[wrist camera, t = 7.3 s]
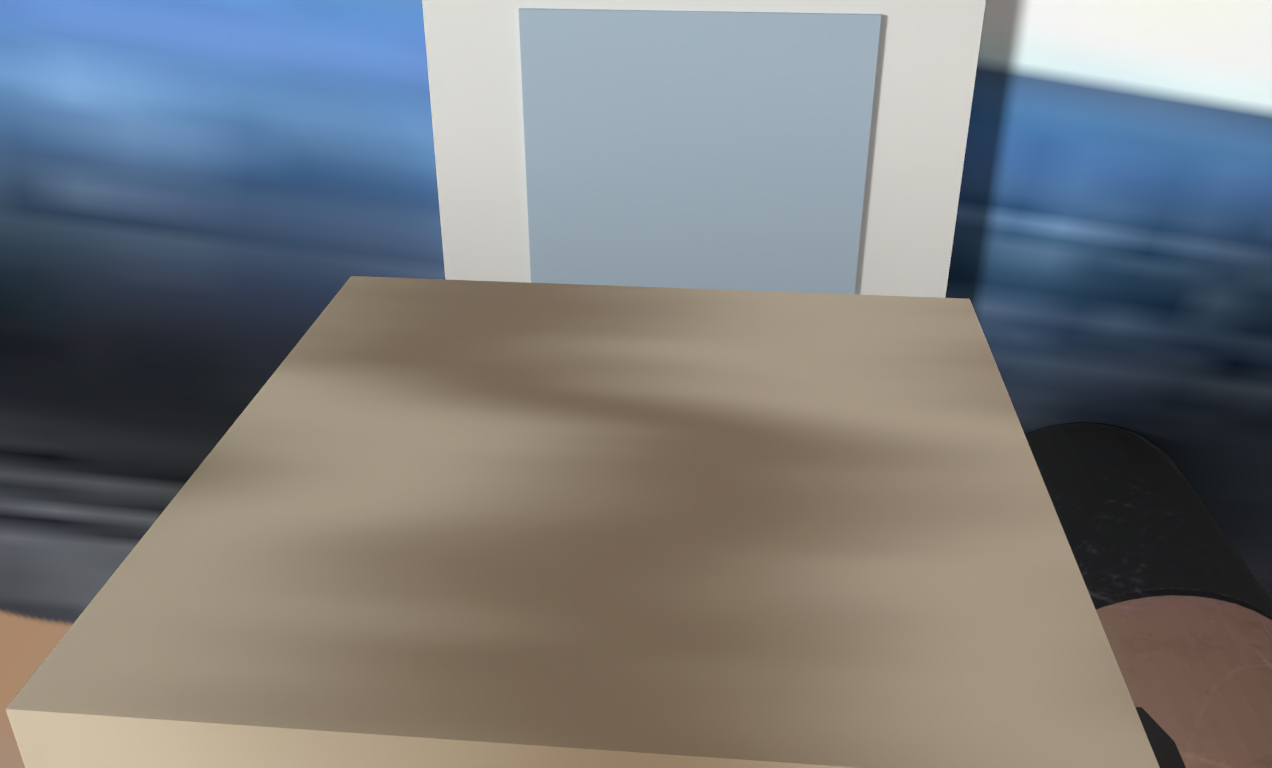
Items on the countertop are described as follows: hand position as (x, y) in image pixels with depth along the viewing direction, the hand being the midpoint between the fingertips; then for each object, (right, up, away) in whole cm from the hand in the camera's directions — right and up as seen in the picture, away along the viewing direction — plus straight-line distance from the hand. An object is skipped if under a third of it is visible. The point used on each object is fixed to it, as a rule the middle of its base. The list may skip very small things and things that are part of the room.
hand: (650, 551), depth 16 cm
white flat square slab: (+1, +8, +16) cm, 18 cm away
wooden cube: (0, 0, 0) cm, 0 cm away
